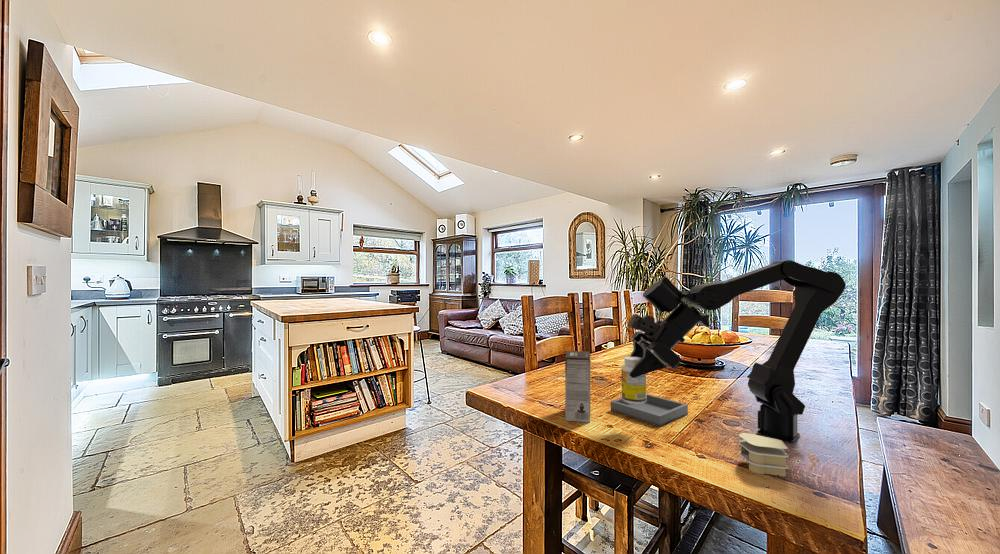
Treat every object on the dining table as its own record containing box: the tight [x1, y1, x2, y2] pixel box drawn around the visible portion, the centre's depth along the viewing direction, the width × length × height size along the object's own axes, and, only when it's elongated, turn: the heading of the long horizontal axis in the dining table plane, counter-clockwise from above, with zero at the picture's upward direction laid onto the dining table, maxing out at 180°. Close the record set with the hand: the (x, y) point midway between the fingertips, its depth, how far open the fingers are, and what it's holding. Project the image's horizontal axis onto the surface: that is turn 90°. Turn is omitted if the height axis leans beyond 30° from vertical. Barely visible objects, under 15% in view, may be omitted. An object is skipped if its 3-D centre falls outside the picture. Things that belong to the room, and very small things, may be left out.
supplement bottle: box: [620, 356, 648, 404], centre depth 87 cm, size 6×6×10 cm
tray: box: [610, 393, 689, 428], centre depth 98 cm, size 14×14×2 cm
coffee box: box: [564, 350, 592, 423], centre depth 96 cm, size 9×6×16 cm
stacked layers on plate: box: [738, 432, 790, 478], centre depth 69 cm, size 10×9×6 cm
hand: (627, 373), depth 87 cm, fingers closed on supplement bottle, 6 cm apart
